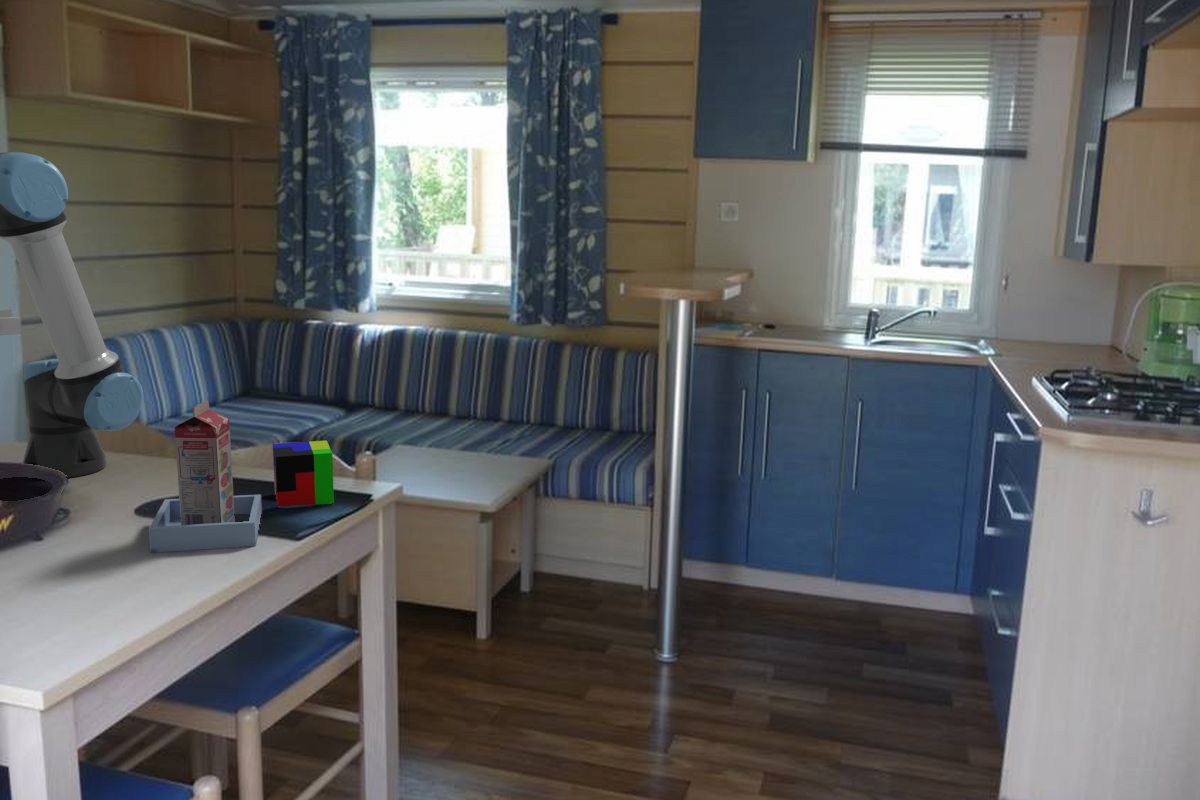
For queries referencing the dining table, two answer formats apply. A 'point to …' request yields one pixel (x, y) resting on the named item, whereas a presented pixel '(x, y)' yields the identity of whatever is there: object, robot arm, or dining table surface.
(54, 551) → the dining table surface
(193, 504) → the juice carton
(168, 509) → the bin
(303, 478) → the puzzle toy
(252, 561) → the dining table surface
